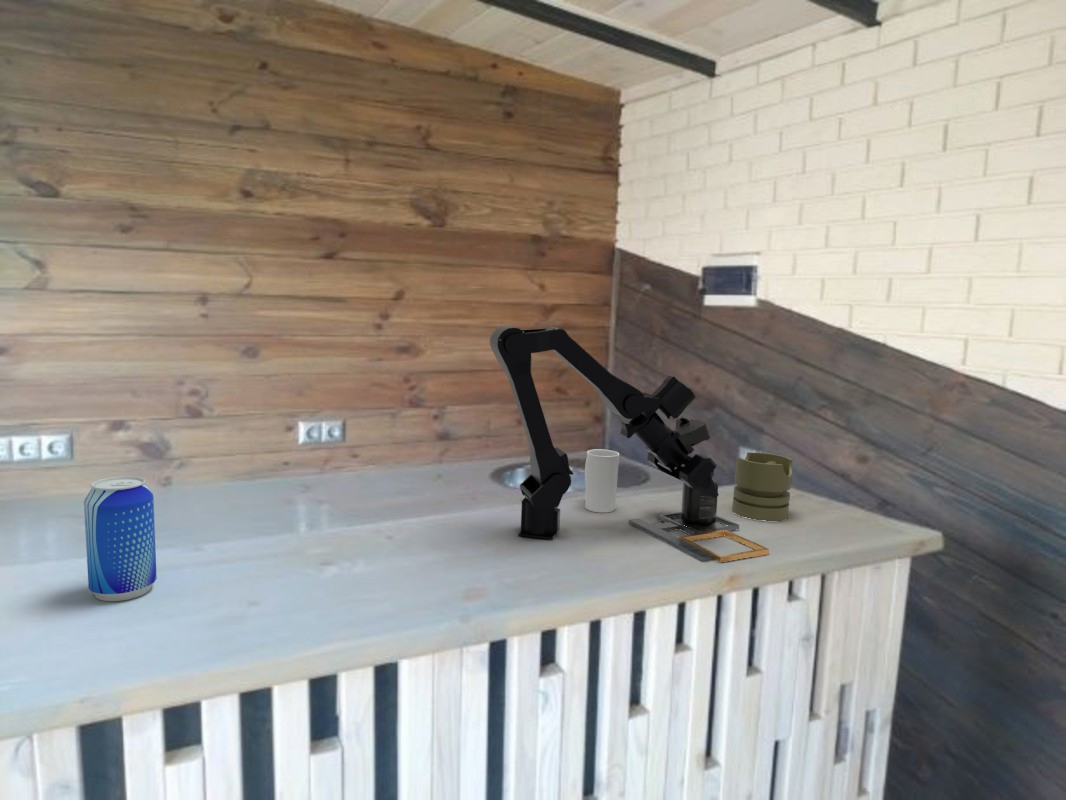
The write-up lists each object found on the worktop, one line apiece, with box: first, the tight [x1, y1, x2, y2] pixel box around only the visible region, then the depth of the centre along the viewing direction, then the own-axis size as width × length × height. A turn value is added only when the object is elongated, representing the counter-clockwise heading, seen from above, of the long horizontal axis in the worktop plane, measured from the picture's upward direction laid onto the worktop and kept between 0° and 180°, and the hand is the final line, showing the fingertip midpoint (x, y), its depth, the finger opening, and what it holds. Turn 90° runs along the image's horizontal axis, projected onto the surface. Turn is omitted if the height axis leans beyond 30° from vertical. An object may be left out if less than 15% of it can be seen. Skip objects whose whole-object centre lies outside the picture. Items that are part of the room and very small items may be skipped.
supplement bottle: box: [680, 470, 719, 530], centre depth 142 cm, size 7×7×12 cm
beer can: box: [83, 475, 158, 602], centre depth 101 cm, size 8×8×16 cm
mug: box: [584, 448, 620, 514], centre depth 152 cm, size 10×7×12 cm, turn 25°
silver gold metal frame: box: [628, 511, 770, 564], centre depth 136 cm, size 18×24×1 cm
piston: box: [731, 451, 794, 522], centre depth 151 cm, size 11×12×11 cm
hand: (704, 490), depth 142 cm, fingers open, 9 cm apart
